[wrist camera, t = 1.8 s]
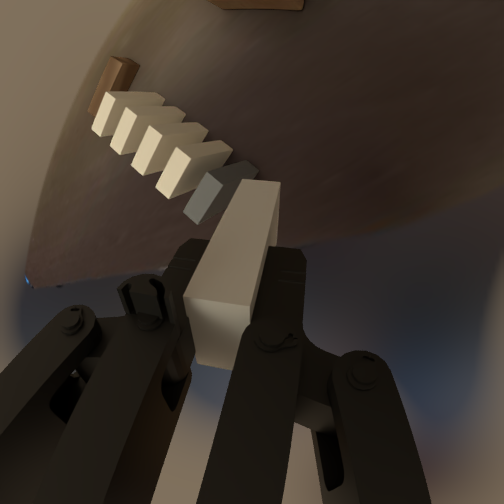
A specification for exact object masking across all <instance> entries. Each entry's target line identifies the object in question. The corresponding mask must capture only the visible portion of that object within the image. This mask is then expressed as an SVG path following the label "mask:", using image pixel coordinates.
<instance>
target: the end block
mask: <svg viewBox="0 0 504 504" xmlns="http://www.w3.org/2000/svg"><path fill="white" fill-rule="evenodd" d="M139 67H140V65H138V64H137V63H135V62H134V61H132V60H130V59H129V58H122V57H113V56H111V57H110V59H109V61H108V63H107V65H106V68H105V70H104V72H103V74H102V77H101V79H100V81H99V84H98V86H97V89H96V91H95V94H94V96H93V99H92V101H91V104H90V106H89V109H88V112H89V113H90V114H92V115H93V116H94V117H95V118H96V115H97V113H98V110H99V107H100V105H101V102H102V100H103V97H104V95H105V93H106V92H109V91H123V92H127V91H128V89H129V87H130V85H131V83H132V81H133V79H134V77H135V75H136V73H137V71H138V69H139Z"/></svg>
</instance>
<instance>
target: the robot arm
mask: <svg viewBox="0 0 504 504" xmlns="http://www.w3.org/2000/svg"><path fill="white" fill-rule="evenodd" d="M280 183H281V182H273V181H262V180H250V179H242V181H241V183H240V184H239V186H238V188H237V190H236V192H235V194H234V196H233V198H232V199H231V201H230V203H229V205H228V207H227V209H226V211H225V213H224V215H223V217H222V219H221V221H220V223H219V224H218V226H217V228H216V230H215V232H214V234H213V236H212V238H211V240H203V239H193V238H191V239H189V240H188V241H187V242H185V243H184V244H183V245H181V246H180V247H179V249H178V250H177V252H176V253H175V255H174V257H173V259H172V260H171V262H170V263H169V265H168V268H166V270H165V272H164V273H163V275H162V277H161V276H157V275H155V274H141V275H137V276H133V277H131V278H129V279H127V280H126V281H124V282H123V283H122V284H121V285H120V286H119V287H118V288H117V291H118V293H119V296H120V298H121V302H122V304H123V307H124V310H125V312H126V315H125V316H121V317H108V318H96V316H95V314H94V312H93V311H92V310H91V309H90V308H89V307H87V306H84V305H73V306H70V307H67V308H65V309H64V310H62V311H61V312H60V313H58V314H57V315H56V316H55V317H54V318H53V319H52V320H51V321H50V322H49V323H48V324H47V325H46V326H45V327H44V328H43V329H42V330H41V331H40V332H39V333H38V334H37V335H36V336H35V337H34V338H33V339H32V340H31V341H30V342H29V343H28V344H27V345H26V346H25V348H23V350H22V351H21V352H20V353H19V354H18V355H17V356H16V357H15V358H14V359H13V360H12V361H11V363H9V365H8V366H7V367H6V368H5V369H4V370H3V371H2V372H1V373H0V504H151V501H152V497H153V494H154V491H155V488H156V485H157V482H158V479H159V476H160V473H161V469H162V467H163V464H164V461H165V458H166V455H167V452H168V449H169V445H170V442H171V439H172V436H173V433H174V430H175V427H176V424H177V422H178V419H179V415H180V413H181V410H182V407H183V404H184V401H185V398H186V395H187V392H188V389H189V386H190V383H191V379H192V372H191V368H190V366H191V363H192V361H193V358H194V355H195V356H196V360H197V363H198V364H202V365H207V366H212V367H217V368H223V369H228V370H232V374H231V378H230V381H229V386H228V389H227V393H226V396H225V400H224V404H223V408H222V411H221V415H220V419H219V422H218V426H217V430H216V433H215V437H214V441H213V445H212V449H211V452H210V455H209V459H208V463H207V466H206V470H205V473H204V477H203V481H202V484H201V488H200V491H199V495H198V499H197V502H196V504H281V503H282V498H283V492H284V486H285V480H286V474H287V468H288V461H289V454H290V448H291V441H292V433H293V426H294V422H295V423H298V424H300V425H302V426H305V427H307V428H310V429H311V433H312V439H313V445H314V451H315V457H316V463H317V469H318V475H319V482H320V488H321V495H322V501H323V504H431V499H430V495H429V491H428V487H427V483H426V479H425V476H424V472H423V468H422V465H421V461H420V458H419V455H418V451H417V448H416V444H415V441H414V438H413V434H412V431H411V428H410V425H409V422H408V419H407V416H406V413H405V410H404V407H403V404H402V401H401V398H400V395H399V392H398V390H397V387H396V384H395V381H394V378H393V376H392V373H391V370H390V369H389V368H388V366H387V364H386V362H385V361H384V360H383V359H381V358H380V357H379V356H377V355H376V354H373V353H371V352H368V351H352V352H348V353H346V354H344V355H343V356H341V357H339V356H336V355H334V354H331V353H329V352H326V351H324V350H322V349H320V348H318V347H316V346H315V345H314V344H313V343H312V342H310V341H309V339H308V338H307V337H306V335H305V333H304V330H303V323H302V321H303V307H304V295H305V280H306V262H307V260H306V258H305V257H304V255H303V253H302V251H301V249H293V248H284V247H276V242H277V230H278V215H279V200H280ZM74 370H76V372H75V373H74V374H72V372H73V371H74Z"/></svg>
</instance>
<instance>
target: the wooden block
mask: <svg viewBox="0 0 504 504" xmlns="http://www.w3.org/2000/svg"><path fill="white" fill-rule="evenodd" d="M207 1H209V2H211V3H213V4H214V5H216V6H218V7H219V8H221V9H286V10H302V8H303V4H304V0H207Z"/></svg>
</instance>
